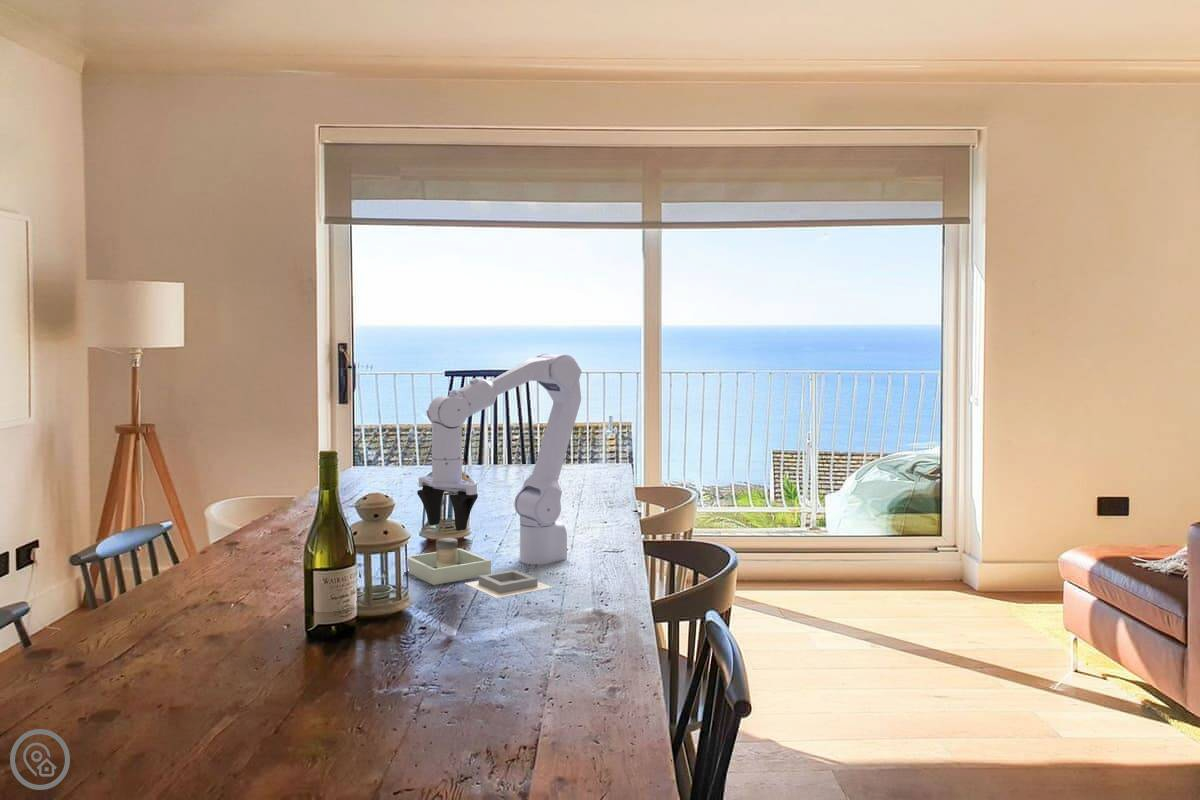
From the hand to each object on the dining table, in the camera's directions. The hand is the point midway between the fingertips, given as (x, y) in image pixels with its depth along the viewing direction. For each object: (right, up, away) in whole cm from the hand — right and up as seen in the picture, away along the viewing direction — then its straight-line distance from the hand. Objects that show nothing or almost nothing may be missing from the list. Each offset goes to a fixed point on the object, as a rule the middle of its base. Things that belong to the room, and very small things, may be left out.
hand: (447, 527), depth 182 cm
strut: (0, -10, +1) cm, 10 cm away
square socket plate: (+13, -11, -8) cm, 18 cm away
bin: (0, -10, +1) cm, 10 cm away
